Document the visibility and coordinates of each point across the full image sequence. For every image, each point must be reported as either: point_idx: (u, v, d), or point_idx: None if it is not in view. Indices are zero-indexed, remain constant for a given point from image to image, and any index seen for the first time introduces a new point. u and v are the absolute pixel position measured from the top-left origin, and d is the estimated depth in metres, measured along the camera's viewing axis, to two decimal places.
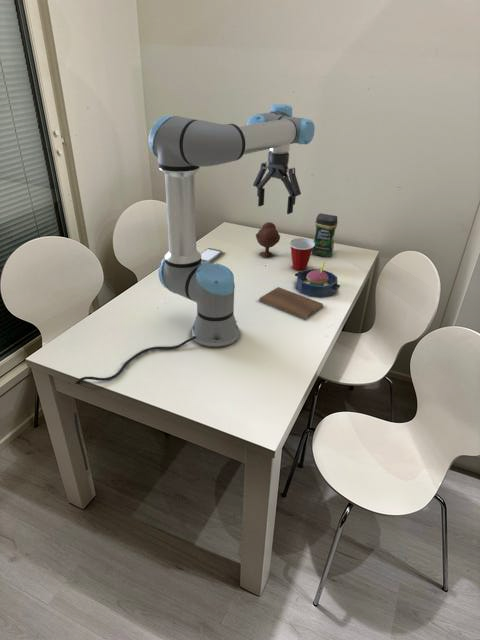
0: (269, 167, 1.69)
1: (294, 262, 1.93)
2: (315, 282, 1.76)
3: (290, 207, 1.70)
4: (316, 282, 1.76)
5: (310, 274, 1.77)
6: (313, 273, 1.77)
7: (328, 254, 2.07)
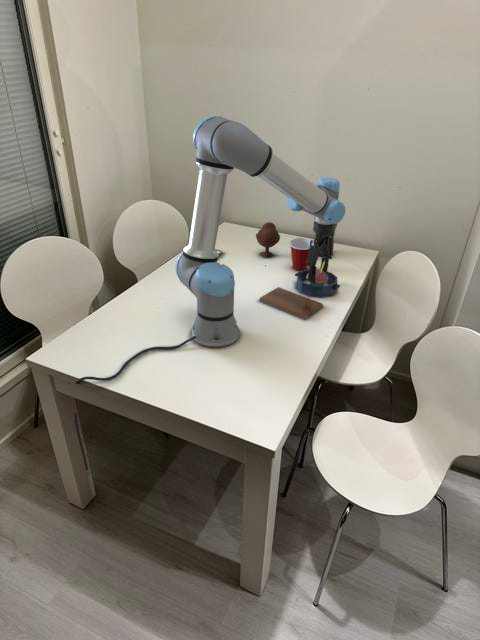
0: None
1: (294, 262, 1.93)
2: (315, 282, 1.76)
3: (310, 275, 1.75)
4: (316, 282, 1.76)
5: None
6: None
7: None
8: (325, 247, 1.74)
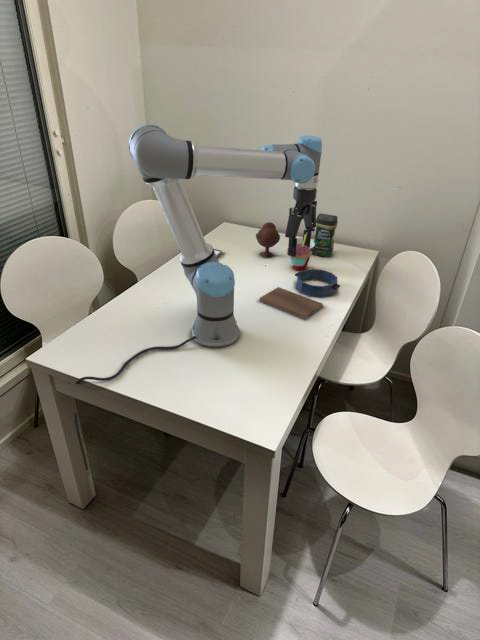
0: None
1: None
2: (296, 256, 1.57)
3: (290, 249, 1.56)
4: (297, 256, 1.57)
5: None
6: None
7: (328, 254, 2.07)
8: (307, 217, 1.56)
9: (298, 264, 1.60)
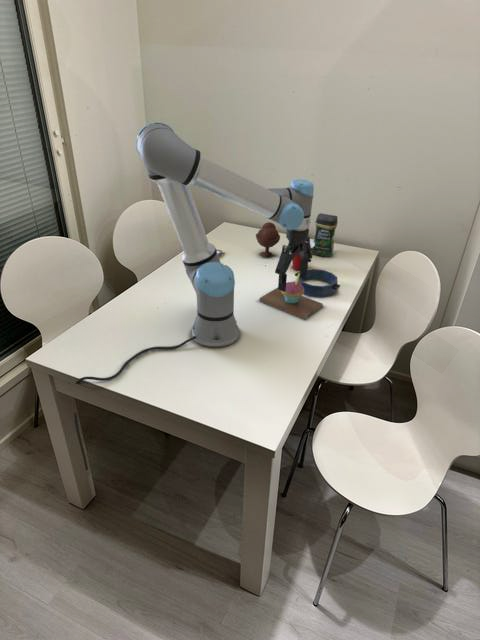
0: None
1: (294, 262, 1.93)
2: (289, 295, 1.63)
3: (280, 284, 1.59)
4: (290, 295, 1.63)
5: None
6: (287, 285, 1.64)
7: (328, 254, 2.07)
8: (302, 252, 1.61)
9: (292, 301, 1.66)
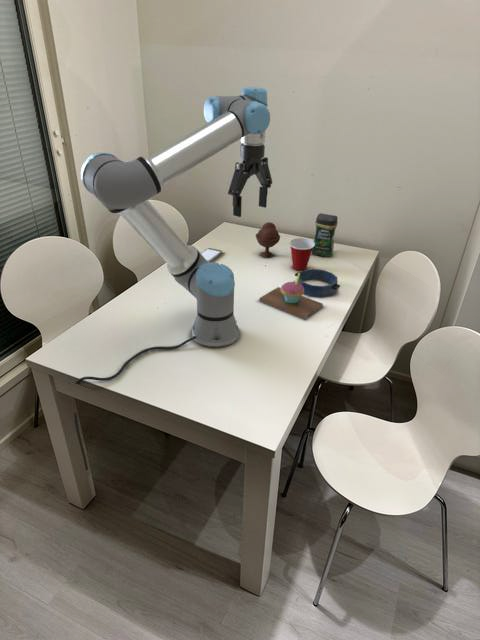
0: None
1: (294, 262, 1.93)
2: (289, 295, 1.63)
3: (235, 208, 1.46)
4: (290, 295, 1.63)
5: (284, 286, 1.65)
6: (287, 285, 1.64)
7: (328, 254, 2.07)
8: (259, 175, 1.48)
9: (292, 301, 1.66)
